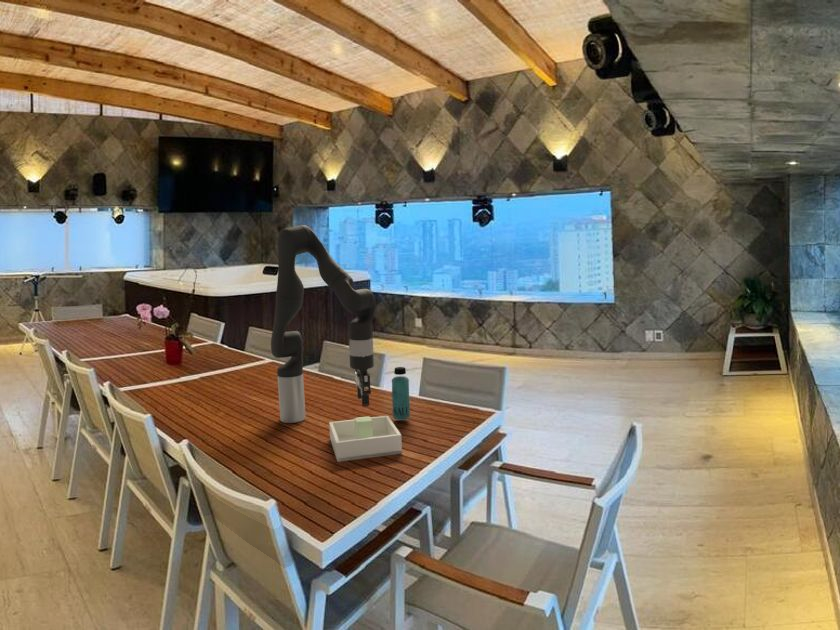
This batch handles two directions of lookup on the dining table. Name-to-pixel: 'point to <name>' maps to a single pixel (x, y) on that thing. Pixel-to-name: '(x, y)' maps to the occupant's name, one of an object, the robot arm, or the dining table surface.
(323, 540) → the dining table surface
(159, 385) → the dining table surface
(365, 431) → the green block
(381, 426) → the serving bin
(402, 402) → the beverage bottle
